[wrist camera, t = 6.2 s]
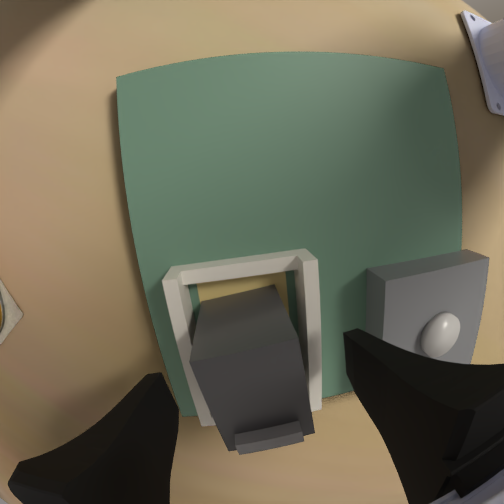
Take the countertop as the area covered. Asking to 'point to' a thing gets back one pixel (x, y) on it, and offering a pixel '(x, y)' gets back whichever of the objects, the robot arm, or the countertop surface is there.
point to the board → (284, 192)
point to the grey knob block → (429, 304)
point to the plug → (251, 371)
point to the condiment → (7, 313)
